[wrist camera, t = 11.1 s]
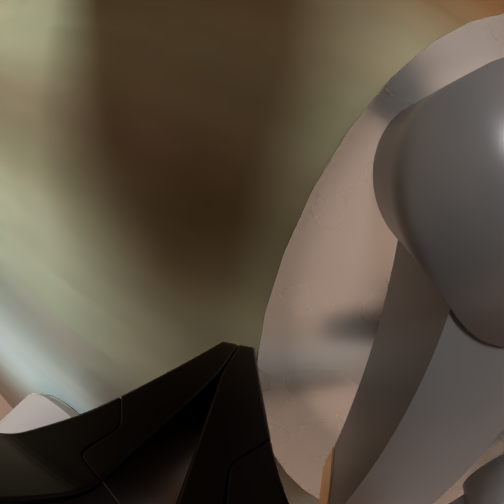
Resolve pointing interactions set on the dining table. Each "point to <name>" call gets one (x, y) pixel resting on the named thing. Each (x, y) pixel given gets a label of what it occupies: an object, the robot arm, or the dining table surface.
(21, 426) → the can
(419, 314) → the foot screw
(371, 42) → the dining table surface
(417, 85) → the plate
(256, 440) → the robot arm
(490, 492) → the grey and orange bar
